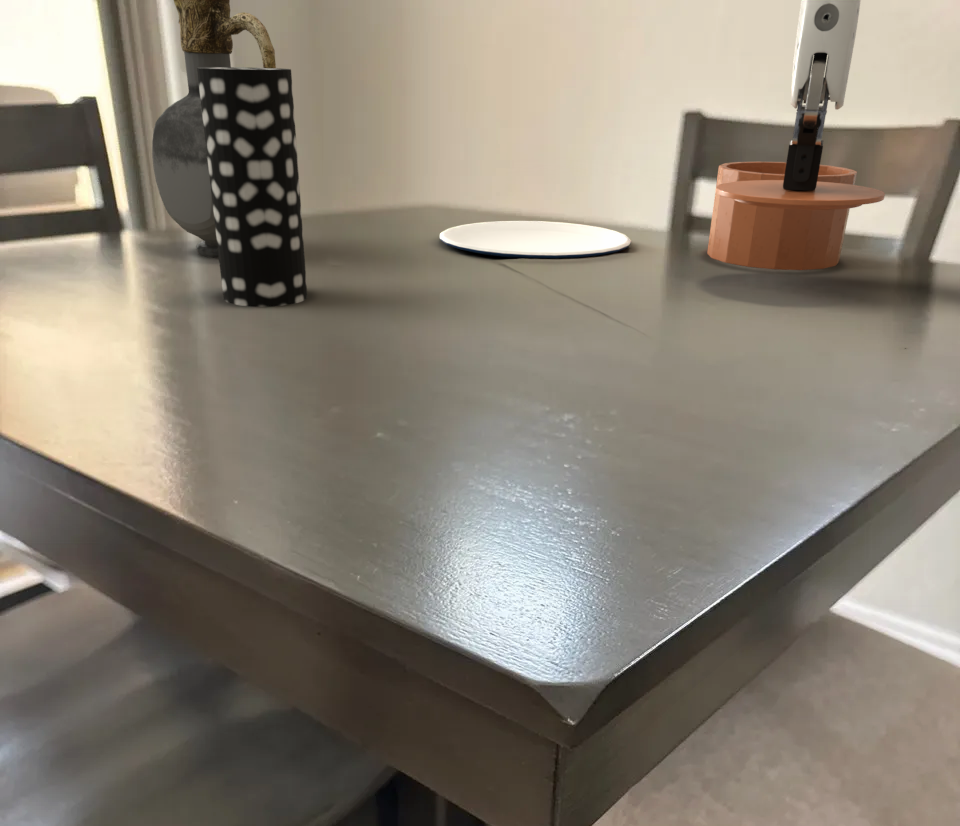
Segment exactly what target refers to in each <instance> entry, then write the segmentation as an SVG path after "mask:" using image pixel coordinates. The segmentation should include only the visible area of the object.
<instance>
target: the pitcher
mask: <svg viewBox="0 0 960 826" xmlns="http://www.w3.org/2000/svg"><path fill="white" fill-rule="evenodd" d="M230 1H231V0H173V4H174V6H175V9H176V11H177V14H178V24H179V37H180V38H179V39H180V46H181V51H182V52H183V53H184V54H183V55H184V60H185V61H184V62H185V70H186V79H187V87H188V94H186V95H185V96H183V97H182V98H180V99H179V100H176V101H175V102H173V103H172V104H171V105H169V106H168V107H167V108H166V109H165V110H164V111H163V112H162V113H161V114H160V116H159V117H158V118H157V119H156V121H155V124H154V127H153V128H154V129H153V132H152V142H151V145H152V147H151V148H152V149H151V156H152V168H153V173H154V174H153V175H154V178H155V179H154V180H155V183H156V187H157V190H158V193H159V197H160V199H161V201H162V204H163V206H164V208H165V211H167V214H168V215H169V217H170V218H171V219H172V220H173V221H174V222H175V223H176V224H177V225H178V226H179V227H180V228H182V229H183V230H184V231H185V232H186V233H189V234H191V235H193V236H196V237H197V238H199V239H201V240H202V241H200V242H198V243H197V244H196V245H195V250H196V252H197V254H198V255H200V256H203V257H208V258H216V259H219V255H218V246H217V237H216V229H215V220H214V211H213V203H212V194H211V185H210V177H209V168H208V159H207V151H206V142H205V133H204V125H203V116H202V108H201V99H200V90H199V82H198V73H197V68H199V67H232V64H231V54H233V49H234V43H233V42H234V41H233V37H232V36H236V35H239V34H240V33H242V32H243V31H246V32H248V33H250V34H251V35H252V36H253V38H254V39H255V41H256V43H257V45H258V48H259V52H260V55H261V61H262V68H277V64H276V53H275V52H276V51H275V48H274V46H273V43H272V40H271V38H270V34H269V32H268V30H267V28H266V26H265V25H264V24H263V23H262V21H260V19H259V18H258V17H257V16H255V15H253V14H251V13H249V12H238V13H236V14H234V15H233V16H231V4H230V3H231V2H230Z"/></svg>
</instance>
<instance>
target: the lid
mask: <svg viewBox="0 0 960 826" xmlns="http://www.w3.org/2000/svg"><path fill="white" fill-rule="evenodd" d="M792 139H793V138H792ZM792 139H789V145H792ZM815 143H816V141H815ZM789 145H788V146H789ZM797 145H798V142H797ZM821 146H823V147H824V140H823V139H822V140H821ZM783 182H784V180H752V181H737V182H728V183H723V184H720V185H717V186H715V191H714V193H715V192H716V194H718V195H720V196H723V197H727V198H732V199H734V200H735V201H737V202H740V203H744V204H748V205H754V206H761V207H770V208H781V209H799V210H836V209H849V208H850V209H855V208H859V207H862V206H863V205H870V204H876V203H880V202H882V201H884V200H885V196H886V192H884V191H883V190H881V189H878V188H874V187H869V186H864V185H857V184H855V185H851V184H842V183H831V182H817V185H816V188H815V190H813V191H802V190H785V189H784V188H783Z"/></svg>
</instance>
